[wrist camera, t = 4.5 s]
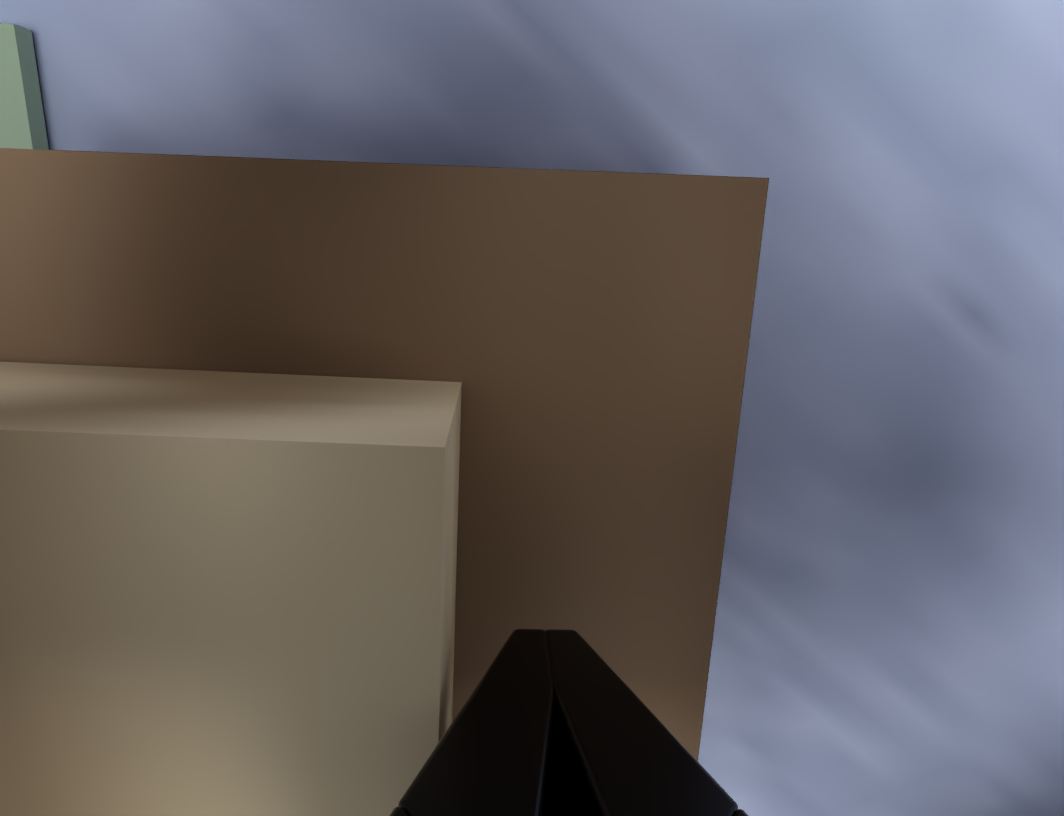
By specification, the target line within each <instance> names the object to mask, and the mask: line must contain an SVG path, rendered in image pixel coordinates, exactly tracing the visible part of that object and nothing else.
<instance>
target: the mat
mask: <svg viewBox="0 0 1064 816" xmlns="http://www.w3.org/2000/svg"><path fill="white" fill-rule="evenodd" d="M0 148H14V149H40V150H49V147H48V140H47V133H46V127H45V120H44V113H43V106H42V99H41V93H40V86H39V79H38V72H37V65H36V59H35V52H34V45H33V38H32V31H30V30H28V29H25V28H23V27H20V26H17V25H15V24H2V23H0Z"/></svg>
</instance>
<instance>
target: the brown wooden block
mask: <svg viewBox="0 0 1064 816" xmlns="http://www.w3.org/2000/svg"><path fill="white" fill-rule="evenodd" d="M768 183H769V178H754V177H728V176H703V175H677V174H652V173H626V172H601V171H575V170H550V169H524V168H499V167H473V166H448V165H422V164H397V163H371V162H346V161H320V160H295V159H269V158H244V157H218V156H193V155H167V154H142V153H116V152H91V151H65V150H40V149H14V148H0V362H22V363H44V364H66V365H89V366H111V367H134V368H156V369H178V370H201V371H223V372H246V373H268V374H290V375H313V376H335V377H358V378H380V379H402V380H425V381H447V382H462V386H461V421H460V457H459V493H458V528H457V564H456V600H455V636H454V671H453V707H452V722H453V720H454V719H455V717H456V716H457V714H458V713H459V711H460V710H461V708H462V707H463V705H464V704H465V702H466V701H467V699H468V698H469V696H470V695H471V693H472V692H473V691H474V689H475V688H476V686H477V685H478V683H479V682H480V680H481V679H482V677H483V676H484V674H485V673H486V671H487V670H488V668H489V667H490V665H491V664H492V662H493V661H494V659H495V658H496V656H497V655H498V653H499V652H500V650H501V649H502V647H503V646H504V644H505V643H506V641H507V640H508V638H509V637H510V635H511V634H512V632H513V631H514V630H516V629H543V630H545V631H546V630H548V629H563V630H575V631H577V632H578V633H579V634H580V635H581V636H582V637H583V638H584V640H585V641H586V642H587V643H588V644H589V645H590V646H591V647H592V648H593V649H594V650H595V651H596V652H597V654H598V655H599V656H600V657H601V658H602V659H603V660H604V661H605V662H606V663H607V664H608V665H609V666H610V668H611V669H612V670H613V671H614V672H615V673H616V674H617V675H618V676H619V677H620V678H621V679H622V681H623V682H624V683H625V684H626V685H627V686H628V687H629V688H630V689H631V690H632V691H633V692H634V693H635V695H636V696H637V697H638V698H639V699H640V700H641V701H642V702H643V703H644V704H645V705H646V706H647V707H648V709H649V710H650V711H651V712H652V713H653V714H654V715H655V716H656V717H657V718H658V719H659V720H660V721H661V723H662V724H663V725H664V726H665V727H666V728H667V729H668V730H669V731H670V732H671V733H672V734H673V736H674V737H675V738H676V739H677V740H678V741H679V742H680V743H681V744H682V745H683V746H684V747H685V748H686V750H687V751H688V752H689V753H690V754H691V755H692V756H693V757H694V758H695V759H696V760H697V761H698V754H699V746H700V738H701V730H702V722H703V713H704V705H705V697H706V689H707V681H708V673H709V664H710V656H711V648H712V640H713V632H714V624H715V615H716V607H717V599H718V591H719V583H720V575H721V566H722V558H723V550H724V542H725V534H726V526H727V517H728V509H729V501H730V493H731V485H732V477H733V468H734V460H735V452H736V444H737V436H738V428H739V420H740V411H741V403H742V395H743V387H744V379H745V371H746V362H747V354H748V346H749V338H750V330H751V322H752V313H753V305H754V297H755V289H756V281H757V273H758V264H759V256H760V248H761V240H762V232H763V224H764V215H765V207H766V199H767V191H768Z"/></svg>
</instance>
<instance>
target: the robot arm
mask: <svg viewBox="0 0 1064 816" xmlns="http://www.w3.org/2000/svg"><path fill="white" fill-rule="evenodd" d="M389 816H748V815H747V814H746V813H745V812H744V811H743V810H741V809H739V810H738V806H737V804H736V802H735V801H734V800H733V799H732V798H731V797H730V796H729V795H728V794H727V793H726V792H725V790H724V789H723V788H722V787H721V786H720V785H719V784H718V783H717V782H716V781H715V780H714V779H713V778H712V776H711V775H710V774H709V773H708V772H707V771H706V770H705V769H704V768H703V767H702V766H701V765H700V764H699V762H698V761H697V760H696V759H695V758H694V757H693V756H692V755H691V754H690V753H689V752H688V751H687V750H686V748H685V747H684V746H683V745H682V744H681V743H680V742H679V741H678V740H677V739H676V738H675V737H674V736H673V734H672V733H671V732H670V731H669V730H668V729H667V728H666V727H665V726H664V725H663V724H662V723H661V721H660V720H659V719H658V718H657V717H656V716H655V715H654V714H653V713H652V712H651V711H650V710H649V709H648V707H647V706H646V705H645V704H644V703H643V702H642V701H641V700H640V699H639V698H638V697H637V696H636V695H635V693H634V692H633V691H632V690H631V689H630V688H629V687H628V686H627V685H626V684H625V683H624V682H623V681H622V679H621V678H620V677H619V676H618V675H617V674H616V673H615V672H614V671H613V670H612V669H611V668H610V666H609V665H608V664H607V663H606V662H605V661H604V660H603V659H602V658H601V657H600V656H599V655H598V654H597V652H596V651H595V650H594V649H593V648H592V647H591V646H590V645H589V644H588V643H587V642H586V641H585V640H584V638H583V637H582V636H581V635H580V634H579V633H578V632H577V631H575V630H563V629H548V630H546V631H545V630H543V629H516V630H514V631H513V632H512V634H511V635H510V637H509V638H508V640H507V641H506V643H505V644H504V646H503V647H502V649H501V650H500V652H499V653H498V655H497V656H496V658H495V659H494V661H493V662H492V664H491V665H490V667H489V668H488V670H487V671H486V673H485V674H484V676H483V677H482V679H481V680H480V682H479V683H478V685H477V686H476V688H475V689H474V691H473V692H472V693H471V695H470V696H469V698H468V699H467V701H466V702H465V704H464V705H463V707H462V708H461V710H460V711H459V713H458V714H457V716H456V717H455V719H454V720H453V722H452V723H451V725H450V726H449V728H448V729H447V731H446V732H445V734H444V735H443V737H442V738H441V740H440V741H439V743H438V744H437V746H436V747H435V749H434V750H433V752H432V753H431V755H430V756H429V758H428V759H427V761H426V762H425V764H424V765H423V767H422V768H421V770H420V771H419V773H418V774H417V776H416V777H415V779H414V780H413V782H412V783H411V785H410V786H409V788H408V789H407V791H406V792H405V794H404V795H403V797H402V798H401V800H400V801H399V804H398V807H395V808H394V809H393V811H392V812H391V814H390V815H389Z"/></svg>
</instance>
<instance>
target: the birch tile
mask: <svg viewBox="0 0 1064 816" xmlns="http://www.w3.org/2000/svg"><path fill="white" fill-rule="evenodd" d="M461 386H462V382H447V381H425V380H402V379H380V378H358V377H335V376H313V375H290V374H268V373H246V372H223V371H201V370H178V369H156V368H134V367H111V366H89V365H66V364H44V363H22V362H0V816H389V815H390V814H391V812H392V811H393V809H394V808H395V807H398V804H399V801H400V800H401V798H402V797H403V795H404V794H405V792H406V791H407V789H408V788H409V786H410V785H411V783H412V782H413V780H414V779H415V777H416V776H417V774H418V773H419V771H420V770H421V768H422V767H423V765H424V764H425V762H426V761H427V759H428V758H429V756H430V755H431V753H432V752H433V750H434V749H435V747H436V746H437V744H438V743H439V741H440V740H441V738H442V737H443V735H444V734H445V732H446V731H447V729H448V728H449V726H450V725H451V723H452V707H453V671H454V636H455V600H456V564H457V528H458V493H459V457H460V421H461Z"/></svg>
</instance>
